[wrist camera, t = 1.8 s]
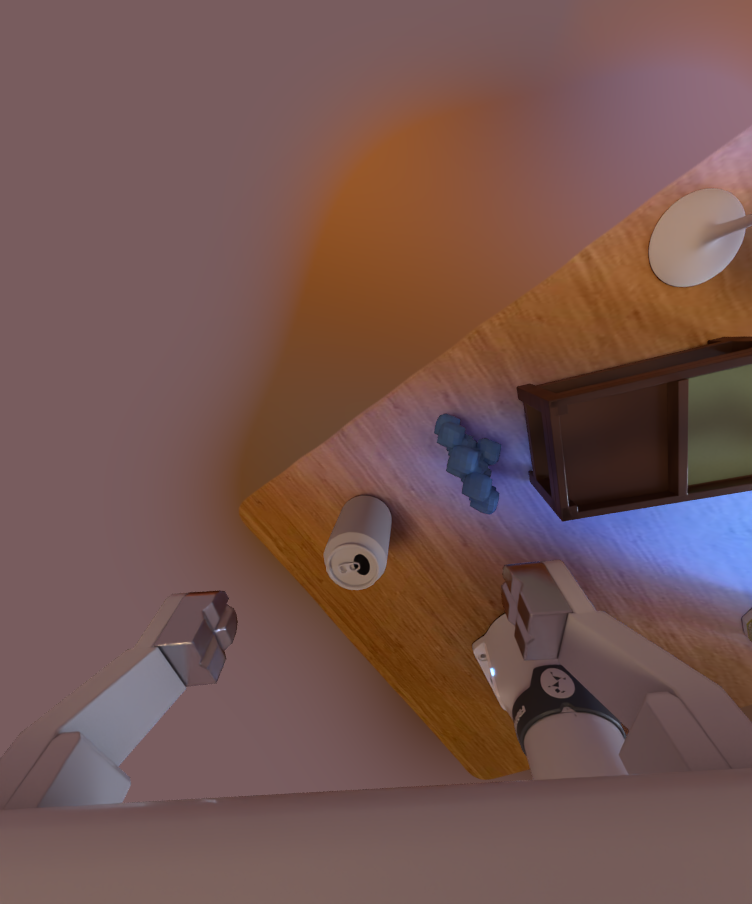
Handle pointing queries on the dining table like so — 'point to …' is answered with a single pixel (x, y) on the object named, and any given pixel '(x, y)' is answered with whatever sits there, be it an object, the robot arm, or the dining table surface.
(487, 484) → the grapes
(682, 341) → the dining table surface
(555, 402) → the tray
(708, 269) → the wineglass
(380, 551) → the can
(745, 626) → the ceramic cup
